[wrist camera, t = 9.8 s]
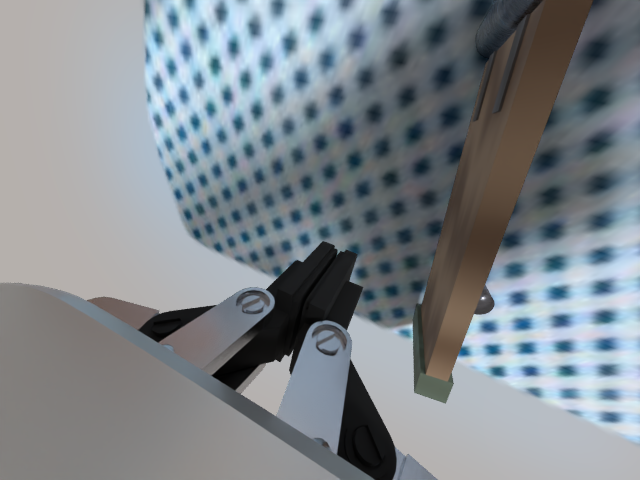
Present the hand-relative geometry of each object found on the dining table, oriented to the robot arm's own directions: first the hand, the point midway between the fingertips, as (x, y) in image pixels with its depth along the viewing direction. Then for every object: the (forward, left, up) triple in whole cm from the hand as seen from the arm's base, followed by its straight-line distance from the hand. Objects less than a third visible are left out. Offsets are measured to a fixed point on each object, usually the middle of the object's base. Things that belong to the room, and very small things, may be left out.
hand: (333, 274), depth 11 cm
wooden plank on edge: (-6, -1, -9) cm, 11 cm away
